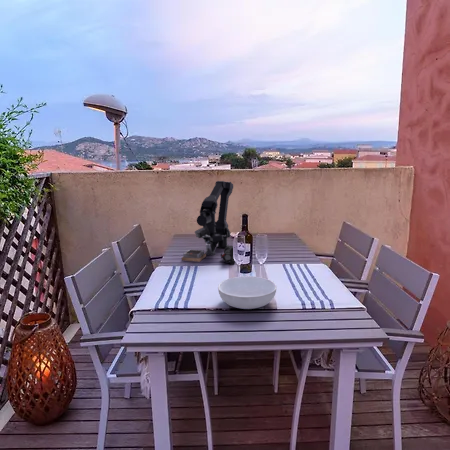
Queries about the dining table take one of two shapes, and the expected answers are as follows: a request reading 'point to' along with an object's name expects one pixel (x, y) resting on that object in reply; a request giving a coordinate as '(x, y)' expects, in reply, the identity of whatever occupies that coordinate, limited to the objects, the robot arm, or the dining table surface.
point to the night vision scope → (228, 255)
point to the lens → (209, 249)
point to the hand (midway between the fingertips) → (210, 250)
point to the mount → (193, 255)
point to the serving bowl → (247, 291)
